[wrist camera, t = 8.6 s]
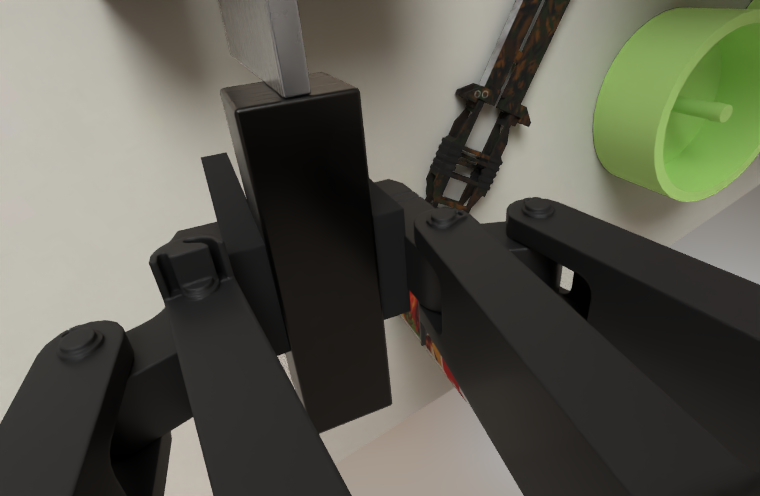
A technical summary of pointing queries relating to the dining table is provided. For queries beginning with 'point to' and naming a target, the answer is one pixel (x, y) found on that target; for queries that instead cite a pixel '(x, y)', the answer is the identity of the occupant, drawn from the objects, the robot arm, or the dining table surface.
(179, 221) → the dining table surface
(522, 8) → the knife
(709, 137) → the green piece
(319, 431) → the cake knife
